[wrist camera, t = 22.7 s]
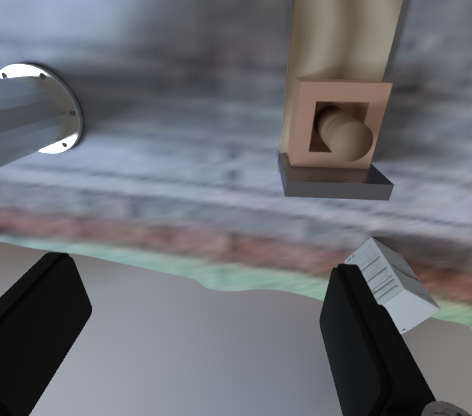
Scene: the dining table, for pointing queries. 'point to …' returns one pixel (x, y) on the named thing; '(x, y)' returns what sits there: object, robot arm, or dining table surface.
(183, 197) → the dining table surface
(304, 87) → the carriage
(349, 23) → the board
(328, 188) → the wall
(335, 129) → the dowel
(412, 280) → the supplement box
